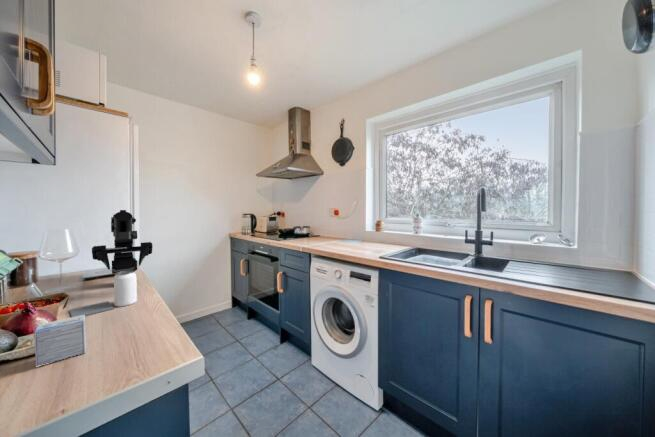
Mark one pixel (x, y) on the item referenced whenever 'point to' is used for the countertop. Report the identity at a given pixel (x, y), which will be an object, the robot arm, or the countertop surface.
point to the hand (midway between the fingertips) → (124, 267)
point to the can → (125, 288)
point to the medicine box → (60, 339)
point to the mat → (91, 309)
